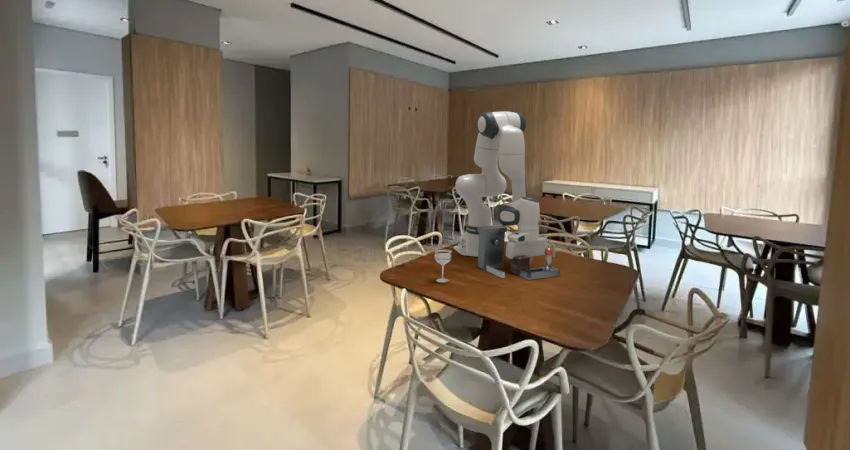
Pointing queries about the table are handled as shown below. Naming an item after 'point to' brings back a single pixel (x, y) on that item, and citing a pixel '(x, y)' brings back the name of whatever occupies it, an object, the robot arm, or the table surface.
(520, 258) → the box
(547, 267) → the lever
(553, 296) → the table surface
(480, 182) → the robot arm
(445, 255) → the wineglass
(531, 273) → the lever rail
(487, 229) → the grey coffee machine
